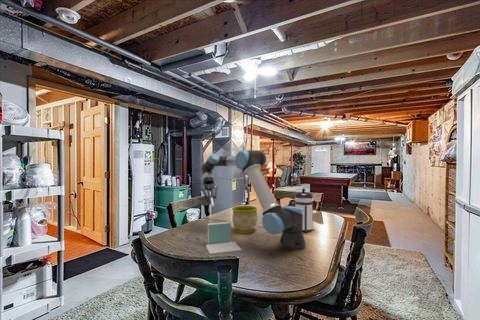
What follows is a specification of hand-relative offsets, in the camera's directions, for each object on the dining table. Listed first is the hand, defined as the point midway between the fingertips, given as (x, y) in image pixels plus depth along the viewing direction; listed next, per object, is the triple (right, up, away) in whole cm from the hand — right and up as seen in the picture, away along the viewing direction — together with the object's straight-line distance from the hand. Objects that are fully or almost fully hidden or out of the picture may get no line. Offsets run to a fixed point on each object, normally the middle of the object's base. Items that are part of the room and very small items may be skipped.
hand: (212, 206), depth 169 cm
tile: (+6, -19, -17) cm, 26 cm away
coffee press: (+63, -19, +9) cm, 66 cm away
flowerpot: (+22, -19, +7) cm, 30 cm away
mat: (+9, -19, -26) cm, 33 cm away
